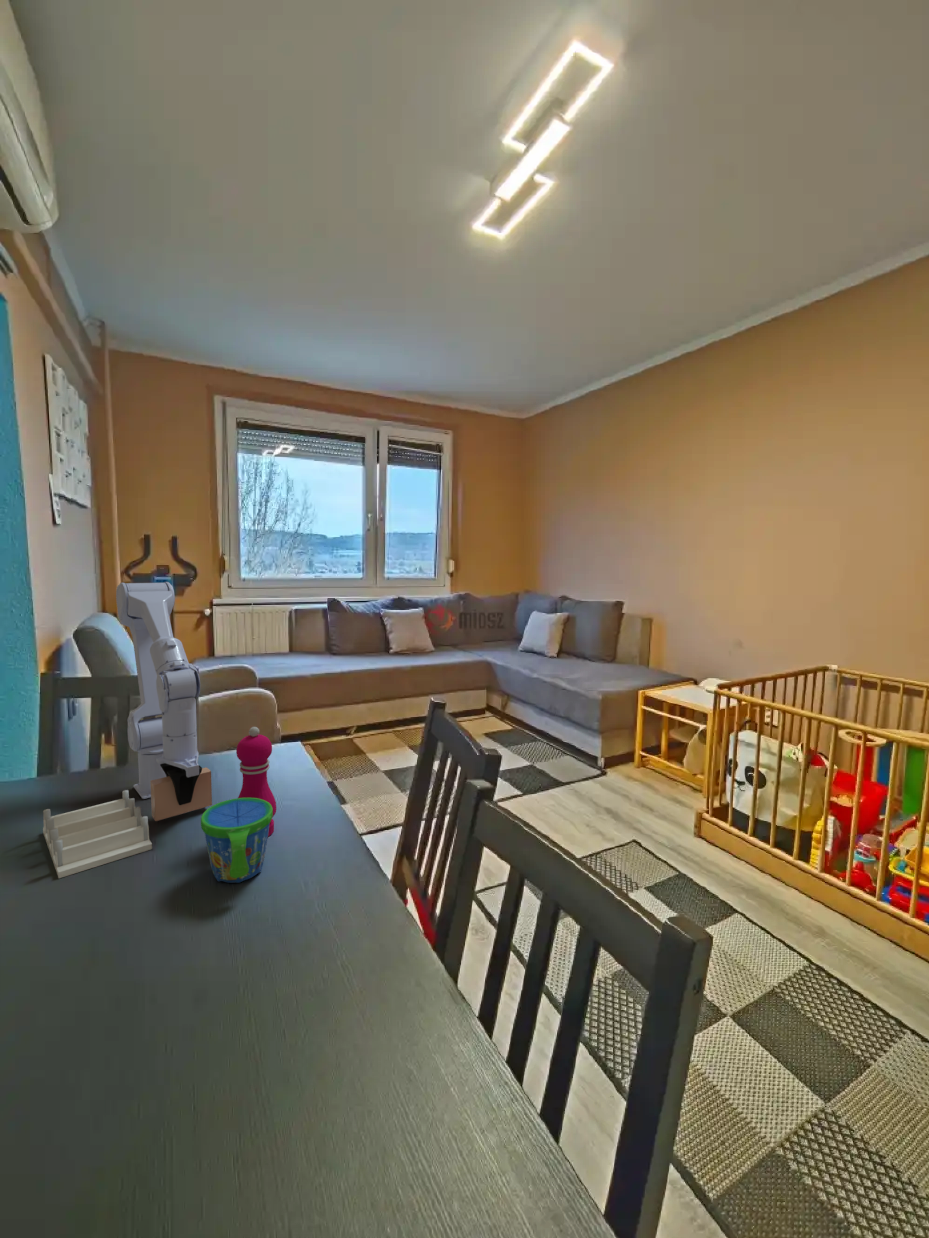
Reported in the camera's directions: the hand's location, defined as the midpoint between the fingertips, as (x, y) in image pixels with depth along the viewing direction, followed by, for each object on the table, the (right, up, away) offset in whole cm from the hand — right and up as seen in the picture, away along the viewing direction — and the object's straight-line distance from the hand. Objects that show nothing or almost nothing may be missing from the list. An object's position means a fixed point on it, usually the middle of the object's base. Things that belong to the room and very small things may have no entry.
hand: (182, 800), depth 105 cm
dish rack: (-10, -4, -9) cm, 14 cm away
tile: (0, -2, 0) cm, 2 cm away
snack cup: (+18, -6, -17) cm, 25 cm away
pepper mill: (+16, -5, -5) cm, 17 cm away
